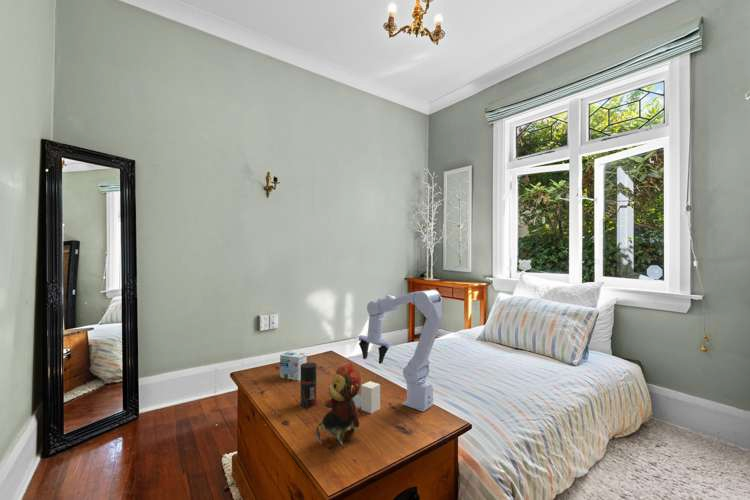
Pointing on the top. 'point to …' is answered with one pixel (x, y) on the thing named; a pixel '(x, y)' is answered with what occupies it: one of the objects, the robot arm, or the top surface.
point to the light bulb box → (292, 365)
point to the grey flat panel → (357, 401)
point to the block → (370, 397)
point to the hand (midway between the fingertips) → (372, 360)
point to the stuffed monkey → (342, 402)
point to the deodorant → (308, 385)
